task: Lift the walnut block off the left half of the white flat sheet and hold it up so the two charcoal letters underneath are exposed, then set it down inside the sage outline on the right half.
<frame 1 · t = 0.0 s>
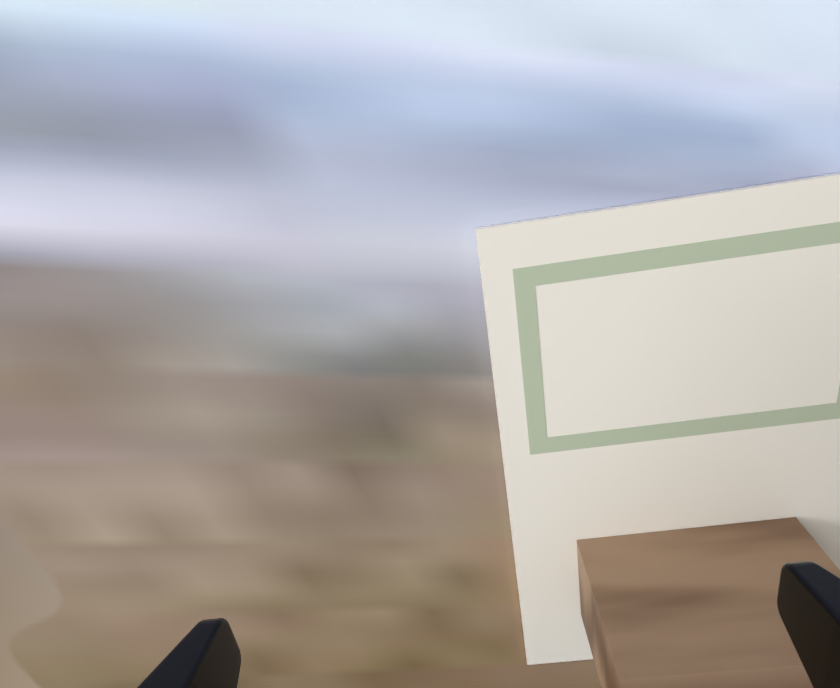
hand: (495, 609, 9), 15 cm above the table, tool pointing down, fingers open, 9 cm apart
white flat sheet: (684, 463, 26), on the table
walnut block: (682, 568, 28), resting on white flat sheet
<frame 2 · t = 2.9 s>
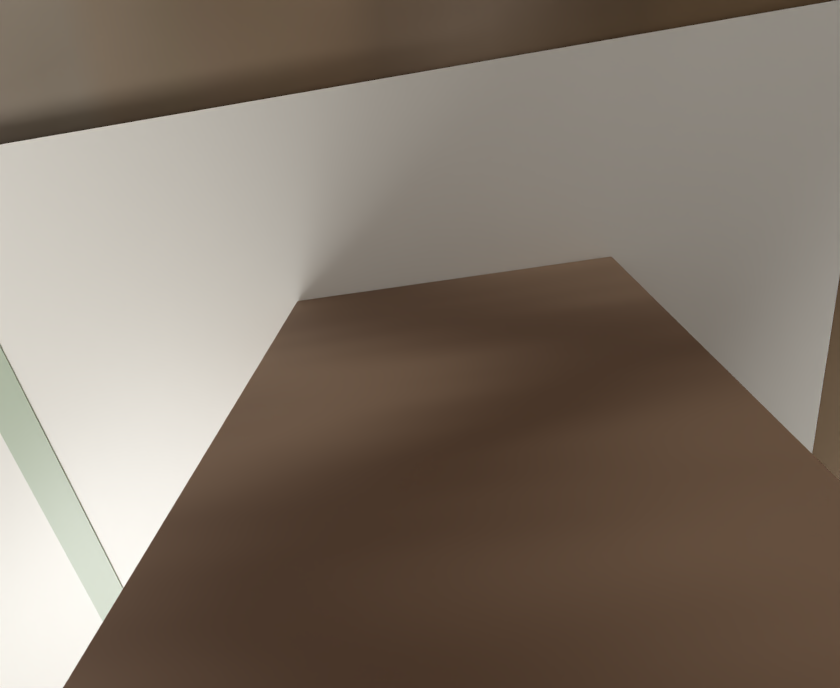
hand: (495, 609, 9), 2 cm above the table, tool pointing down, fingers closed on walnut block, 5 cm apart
white flat sheet: (195, 543, 12), on the table
walnut block: (484, 523, 11), resting on white flat sheet, touching gripper
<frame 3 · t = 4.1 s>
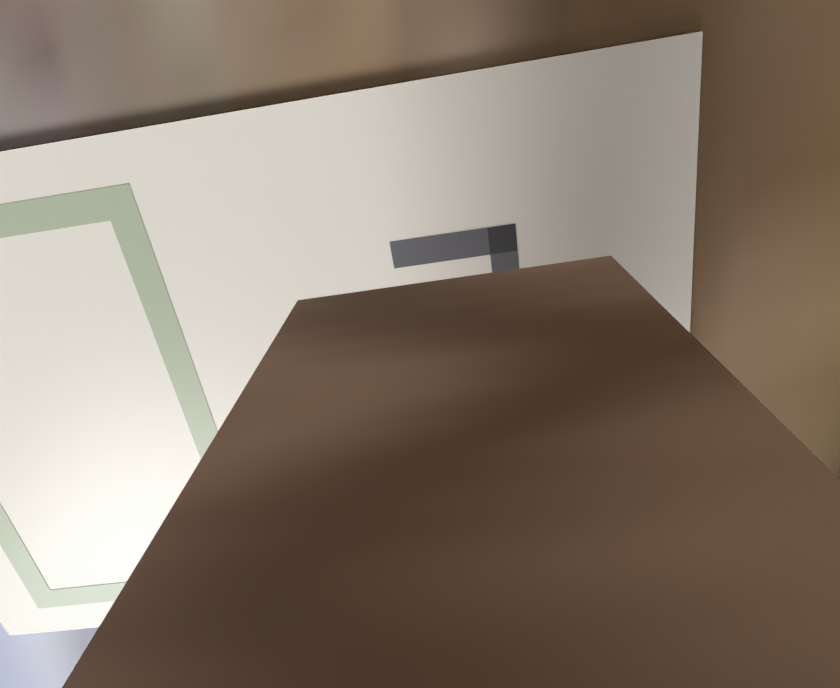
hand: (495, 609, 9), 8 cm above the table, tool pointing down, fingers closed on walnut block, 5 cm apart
white flat sheet: (270, 404, 17), on the table
walnut block: (484, 521, 11), point 6 cm above the table, touching gripper
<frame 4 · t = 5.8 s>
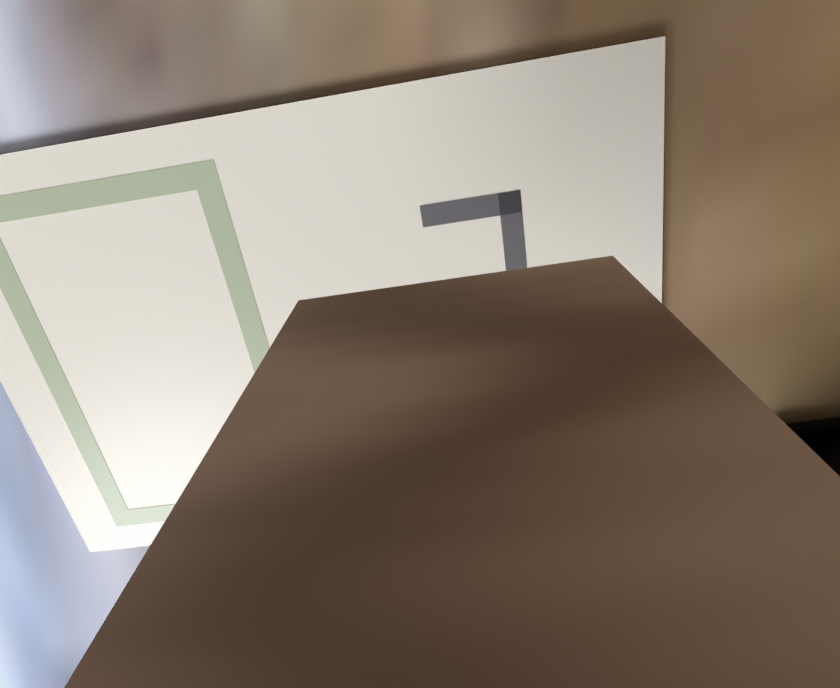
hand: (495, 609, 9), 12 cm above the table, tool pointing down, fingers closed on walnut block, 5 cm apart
white flat sheet: (319, 344, 21), on the table
walnut block: (485, 522, 11), point 10 cm above the table, touching gripper
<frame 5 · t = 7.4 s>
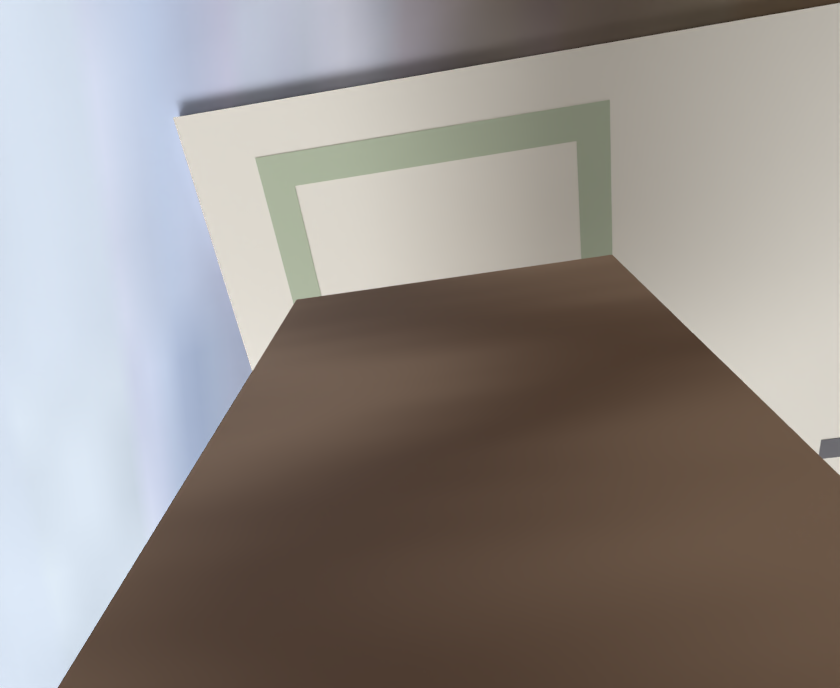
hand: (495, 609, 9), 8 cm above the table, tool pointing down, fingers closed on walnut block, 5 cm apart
white flat sheet: (671, 345, 16), on the table
walnut block: (484, 522, 11), point 6 cm above the table, touching gripper
when the fingers open (4 cm above the table, at t = 9.0 s): walnut block drops 1 cm, resting on white flat sheet.
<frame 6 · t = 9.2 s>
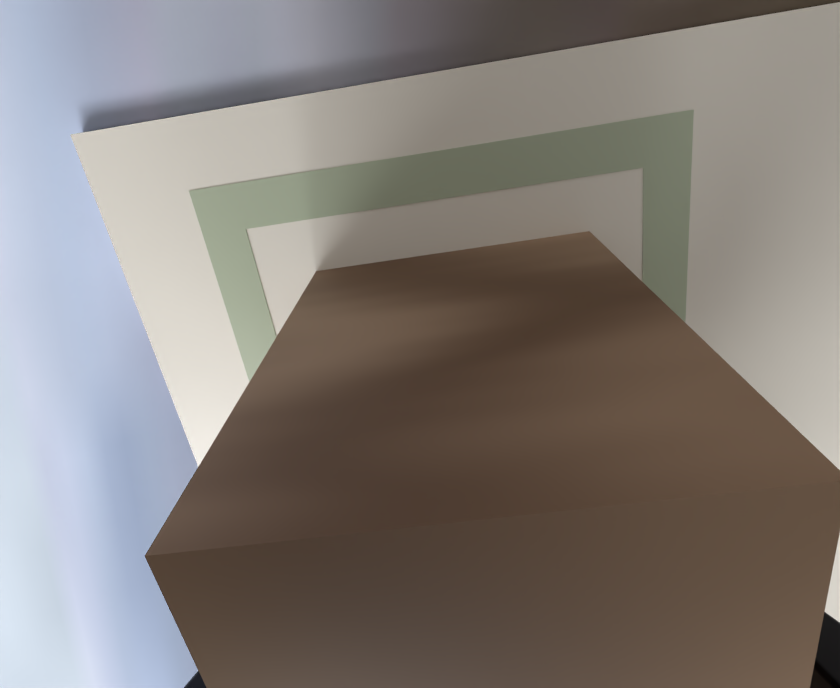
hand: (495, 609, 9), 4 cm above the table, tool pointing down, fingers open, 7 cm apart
white flat sheet: (755, 434, 12), on the table
walnut block: (480, 473, 12), resting on white flat sheet
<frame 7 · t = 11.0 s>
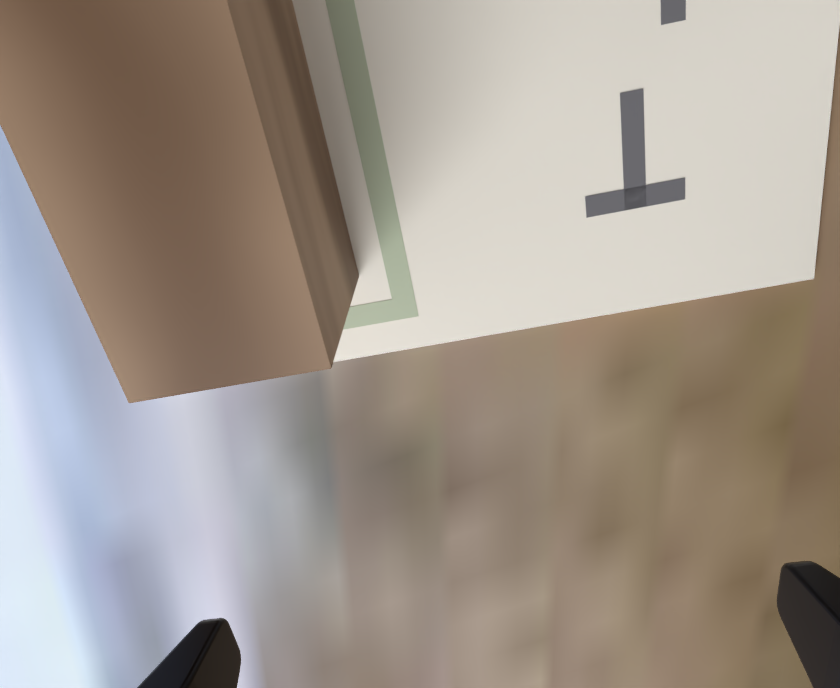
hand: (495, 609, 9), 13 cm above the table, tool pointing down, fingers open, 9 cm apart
white flat sheet: (431, 102, 18), on the table
walnut block: (244, 139, 18), resting on white flat sheet
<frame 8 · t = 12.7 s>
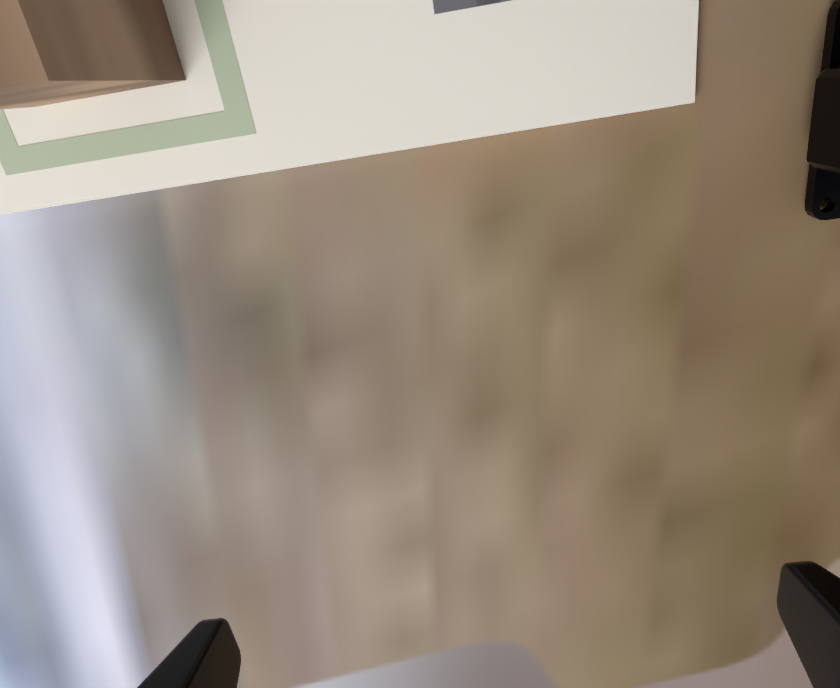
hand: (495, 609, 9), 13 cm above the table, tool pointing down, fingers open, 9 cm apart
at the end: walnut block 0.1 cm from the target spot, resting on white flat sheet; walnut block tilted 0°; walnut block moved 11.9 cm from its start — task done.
